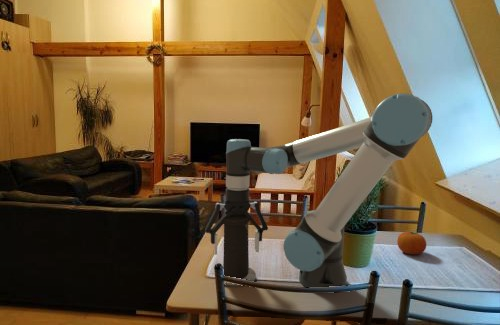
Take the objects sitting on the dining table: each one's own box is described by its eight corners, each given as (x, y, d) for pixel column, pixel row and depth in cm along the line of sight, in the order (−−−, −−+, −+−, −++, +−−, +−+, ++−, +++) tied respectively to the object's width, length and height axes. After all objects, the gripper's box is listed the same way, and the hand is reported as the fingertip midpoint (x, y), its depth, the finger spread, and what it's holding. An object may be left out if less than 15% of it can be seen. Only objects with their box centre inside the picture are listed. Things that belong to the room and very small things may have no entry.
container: (254, 273, 115) (255, 214, 112) (236, 282, 108) (236, 220, 105) (235, 265, 120) (235, 209, 118) (216, 274, 114) (216, 215, 111)
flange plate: (263, 278, 114) (263, 275, 114) (233, 291, 105) (233, 287, 105) (238, 265, 124) (238, 262, 123) (208, 276, 115) (208, 272, 115)
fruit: (415, 259, 132) (416, 239, 131) (391, 250, 141) (392, 231, 140) (430, 254, 138) (432, 235, 137) (406, 246, 147) (408, 227, 146)
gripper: (272, 184, 117) (270, 245, 120) (197, 186, 111) (197, 249, 114) (278, 189, 109) (276, 253, 112) (198, 191, 104) (198, 258, 107)
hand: (236, 251), depth 113 cm, fingers open, 13 cm apart
